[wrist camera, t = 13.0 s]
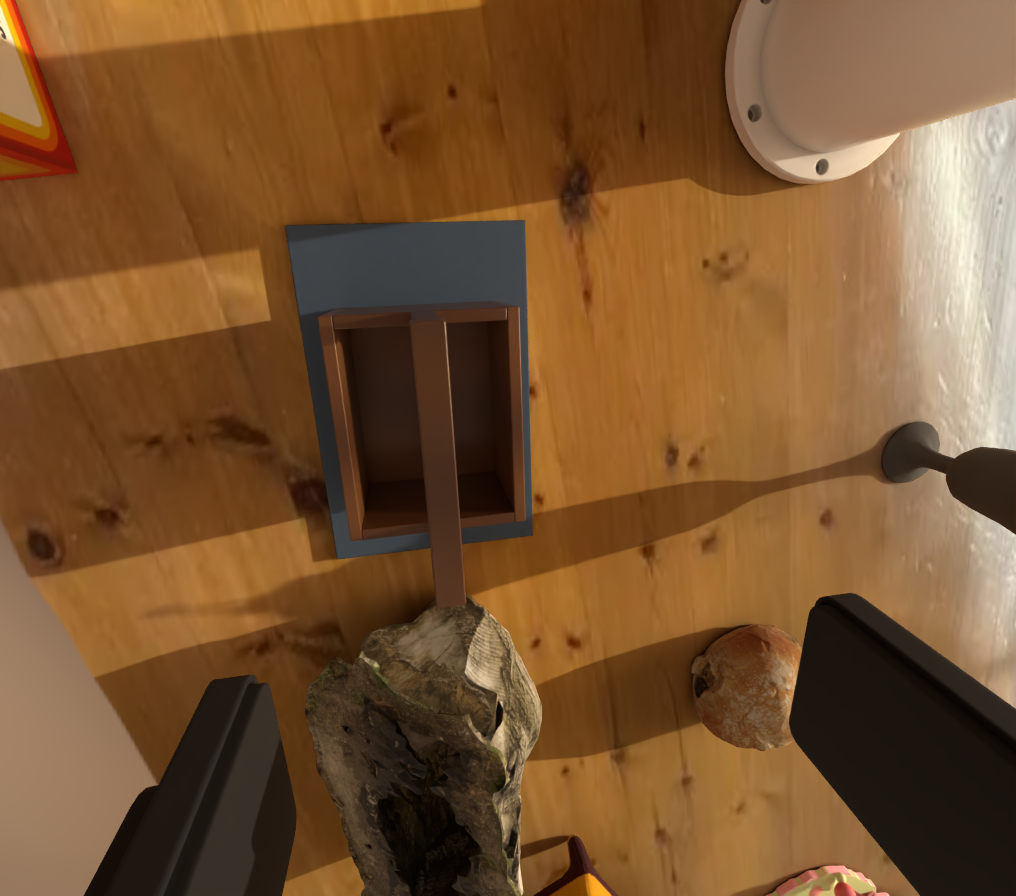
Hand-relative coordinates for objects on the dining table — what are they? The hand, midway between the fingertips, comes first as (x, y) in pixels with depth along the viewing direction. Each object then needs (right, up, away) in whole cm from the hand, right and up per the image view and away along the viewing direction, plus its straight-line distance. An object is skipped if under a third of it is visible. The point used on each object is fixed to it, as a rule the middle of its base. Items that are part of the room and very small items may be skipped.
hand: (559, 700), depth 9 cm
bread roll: (+19, -14, +35) cm, 42 cm away
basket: (-6, +7, +23) cm, 25 cm away
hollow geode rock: (-7, -17, +31) cm, 36 cm away
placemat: (-6, +7, +23) cm, 25 cm away
